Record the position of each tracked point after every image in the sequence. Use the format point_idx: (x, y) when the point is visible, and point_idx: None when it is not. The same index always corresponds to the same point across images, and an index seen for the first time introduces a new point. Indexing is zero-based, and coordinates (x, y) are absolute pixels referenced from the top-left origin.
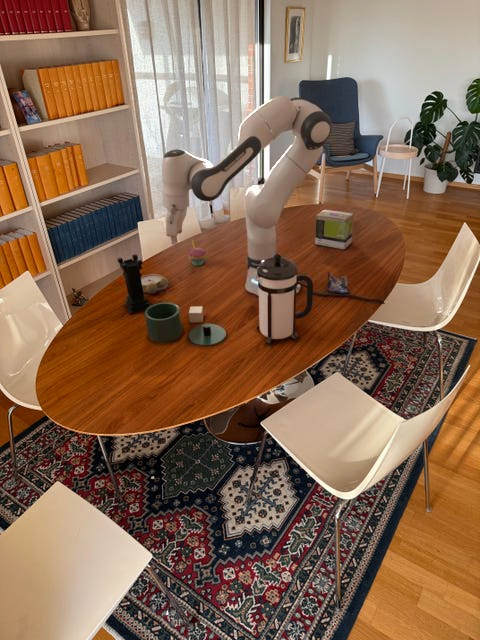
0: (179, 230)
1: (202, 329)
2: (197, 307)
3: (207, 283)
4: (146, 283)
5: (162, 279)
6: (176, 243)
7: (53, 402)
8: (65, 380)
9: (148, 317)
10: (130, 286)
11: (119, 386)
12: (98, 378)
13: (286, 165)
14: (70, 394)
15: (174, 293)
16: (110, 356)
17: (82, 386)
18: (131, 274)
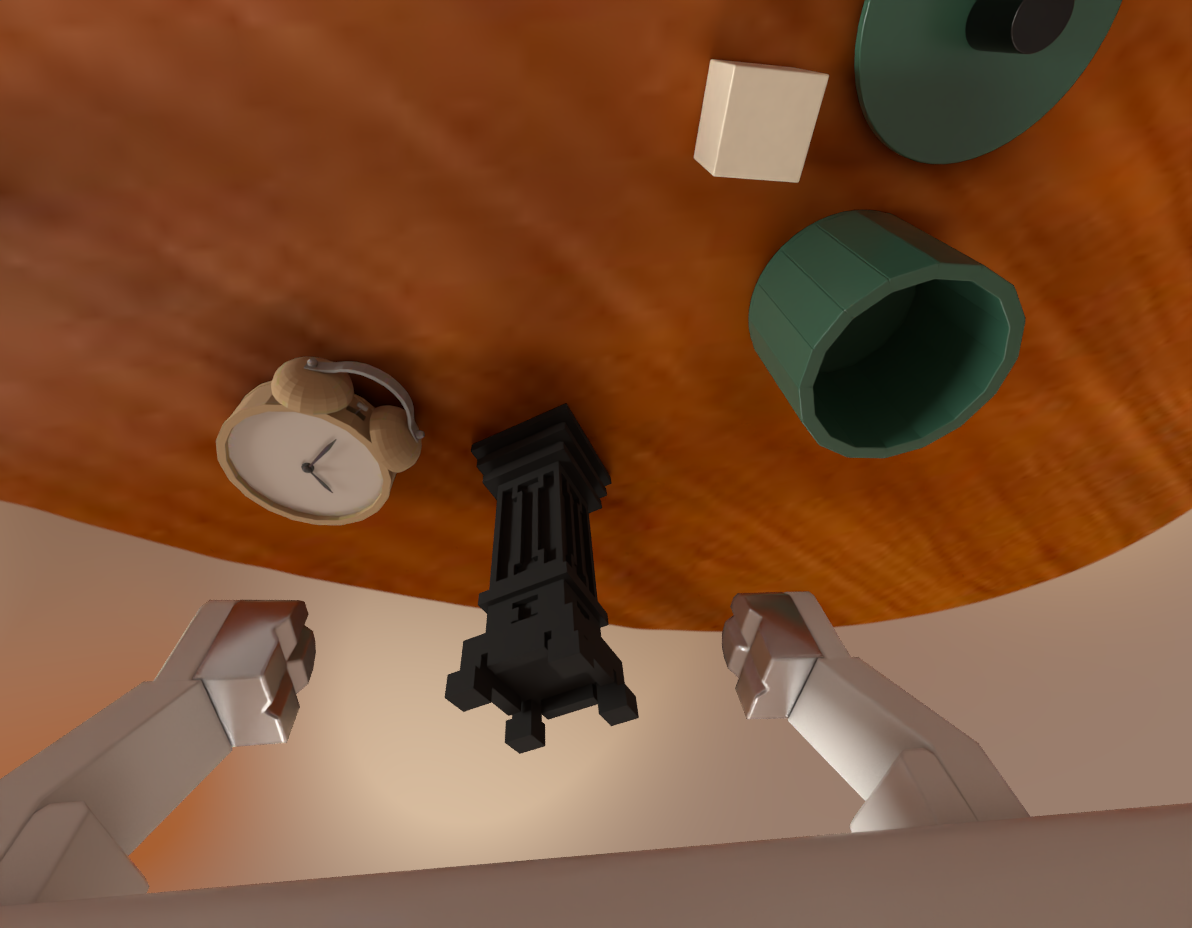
0: (285, 671)
1: (917, 62)
2: (741, 114)
3: (157, 33)
4: (351, 476)
5: (315, 407)
6: (817, 603)
7: (1057, 566)
8: (970, 566)
9: (942, 433)
10: (585, 569)
11: (1111, 425)
12: (1018, 492)
13: None
14: (1049, 540)
15: (380, 301)
16: (905, 486)
17: (1031, 523)
18: (589, 622)
